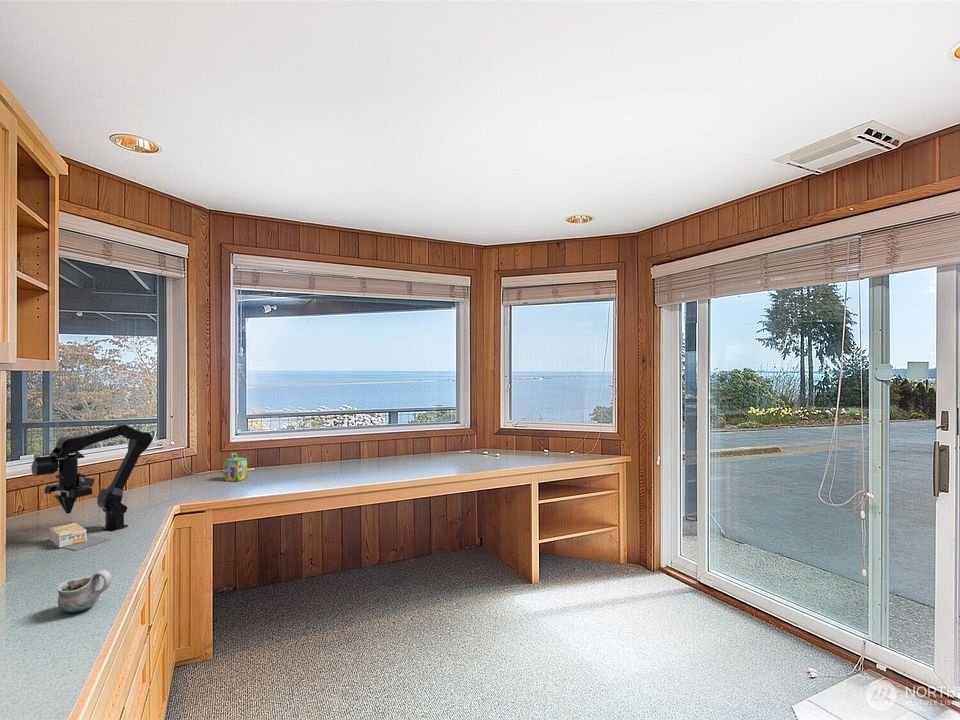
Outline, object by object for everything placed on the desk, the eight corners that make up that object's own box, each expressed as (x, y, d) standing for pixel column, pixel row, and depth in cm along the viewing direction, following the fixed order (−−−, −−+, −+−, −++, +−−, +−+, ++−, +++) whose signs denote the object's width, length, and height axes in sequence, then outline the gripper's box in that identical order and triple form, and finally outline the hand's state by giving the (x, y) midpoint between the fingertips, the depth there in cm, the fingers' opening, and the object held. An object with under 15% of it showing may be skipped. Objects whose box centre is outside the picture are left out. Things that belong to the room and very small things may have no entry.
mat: (110, 540, 200) (110, 539, 200) (76, 550, 189) (76, 549, 189) (83, 534, 206) (83, 533, 206) (47, 544, 195) (47, 543, 195)
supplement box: (75, 521, 205) (87, 528, 197) (75, 534, 205) (87, 542, 197) (48, 527, 199) (59, 534, 191) (48, 540, 199) (59, 548, 191)
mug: (68, 603, 148) (67, 566, 148) (119, 598, 152) (119, 562, 152) (49, 619, 139) (49, 580, 139) (105, 613, 142) (104, 575, 142)
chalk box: (237, 481, 294) (237, 454, 294) (222, 481, 295) (222, 454, 295) (247, 478, 303) (247, 451, 303) (233, 477, 305) (233, 451, 304)
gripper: (106, 469, 205) (107, 510, 205) (75, 465, 213) (75, 505, 213) (75, 475, 195) (75, 518, 195) (43, 471, 202) (43, 512, 202)
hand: (68, 513), depth 202 cm, fingers closed
